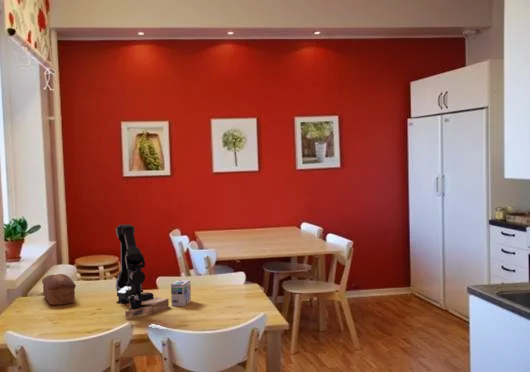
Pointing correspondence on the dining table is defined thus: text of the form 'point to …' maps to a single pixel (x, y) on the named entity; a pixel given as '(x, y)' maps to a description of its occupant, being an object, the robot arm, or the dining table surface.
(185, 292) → the light bulb box
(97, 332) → the dining table surface
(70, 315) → the dining table surface
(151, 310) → the flap
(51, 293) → the bread
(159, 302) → the brown piece
